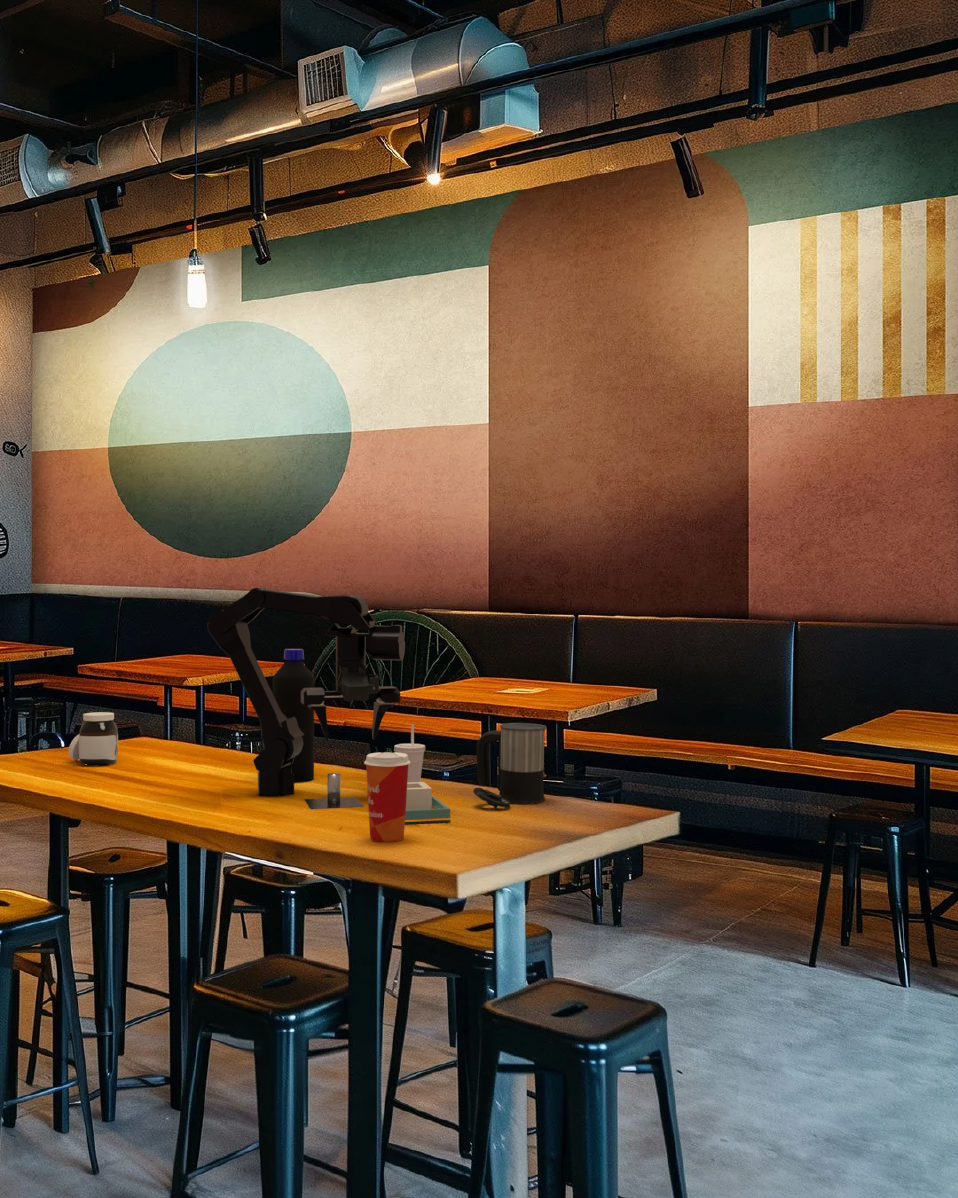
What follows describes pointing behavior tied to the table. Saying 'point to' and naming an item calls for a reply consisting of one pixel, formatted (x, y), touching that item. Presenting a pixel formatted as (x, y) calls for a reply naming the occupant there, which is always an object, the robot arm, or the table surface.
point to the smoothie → (412, 757)
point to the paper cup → (387, 795)
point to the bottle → (297, 708)
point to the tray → (429, 814)
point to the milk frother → (513, 764)
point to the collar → (418, 796)
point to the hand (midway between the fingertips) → (350, 739)
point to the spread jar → (96, 740)
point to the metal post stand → (333, 796)
